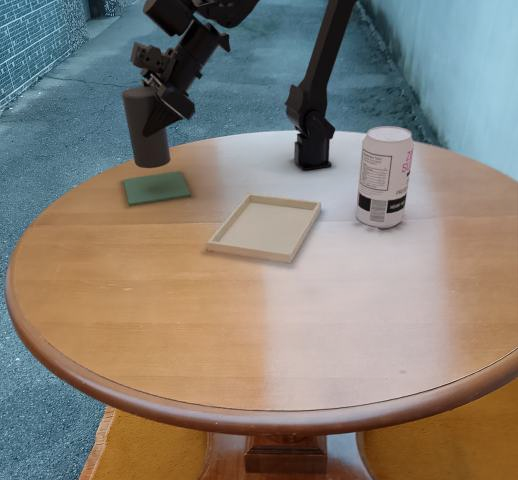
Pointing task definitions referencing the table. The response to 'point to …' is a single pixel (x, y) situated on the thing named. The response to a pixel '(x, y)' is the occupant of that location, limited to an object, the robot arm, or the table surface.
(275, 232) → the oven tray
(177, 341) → the table surface
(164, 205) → the table surface
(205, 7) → the robot arm
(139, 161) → the dark grey cylinder
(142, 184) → the plate
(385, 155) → the supplement can
